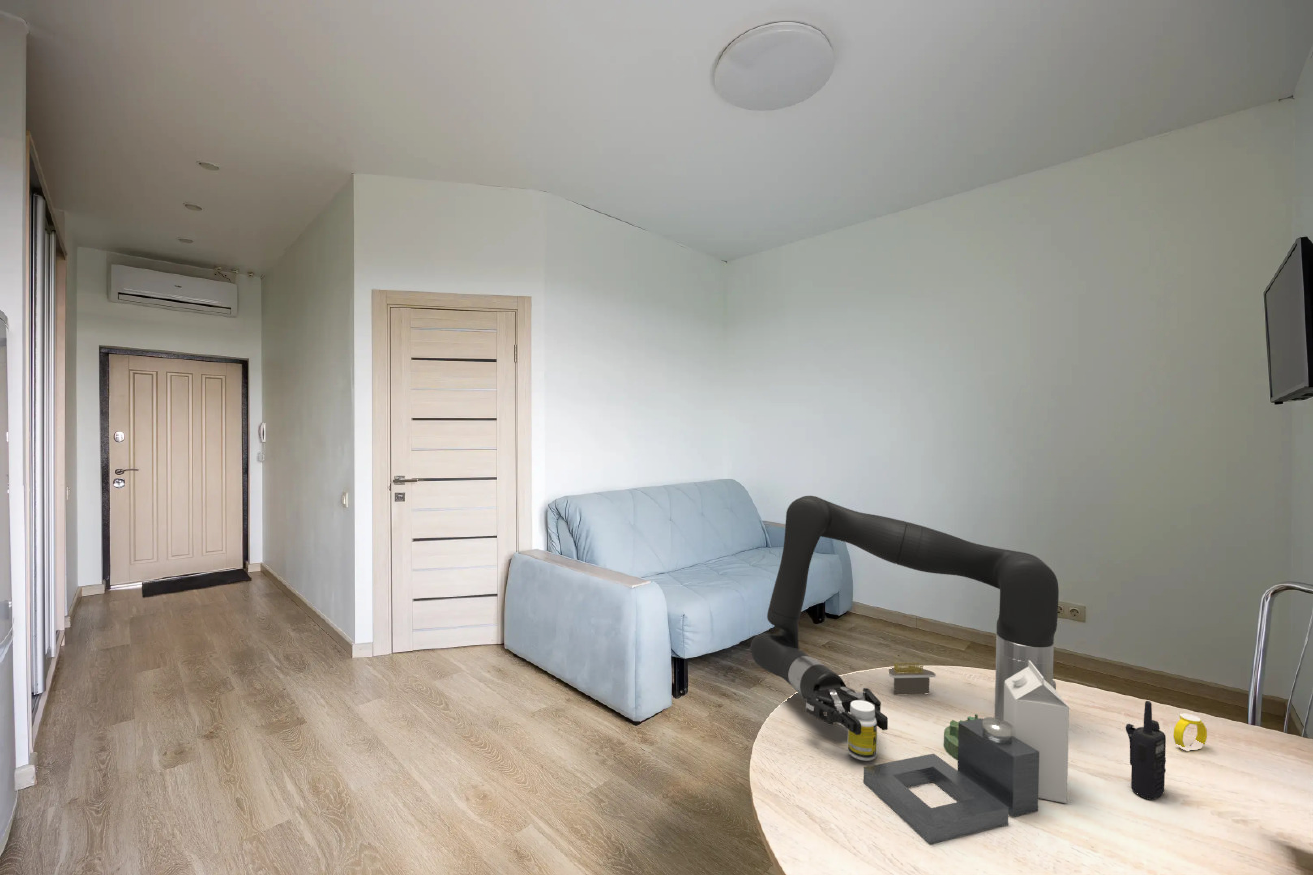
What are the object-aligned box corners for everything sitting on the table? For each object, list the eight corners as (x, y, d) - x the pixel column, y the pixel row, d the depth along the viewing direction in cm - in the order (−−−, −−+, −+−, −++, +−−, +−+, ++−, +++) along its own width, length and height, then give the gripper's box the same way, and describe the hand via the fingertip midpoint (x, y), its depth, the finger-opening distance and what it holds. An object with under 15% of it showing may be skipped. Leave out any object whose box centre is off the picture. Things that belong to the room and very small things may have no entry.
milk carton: (1051, 777, 92) (1054, 663, 91) (1067, 804, 85) (1070, 681, 85) (1002, 768, 94) (1004, 656, 94) (1013, 794, 87) (1016, 674, 87)
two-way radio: (1152, 804, 85) (1154, 707, 85) (1117, 787, 89) (1119, 694, 89) (1168, 793, 88) (1171, 699, 88) (1134, 778, 92) (1136, 687, 92)
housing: (966, 761, 96) (967, 698, 96) (1044, 815, 82) (1046, 741, 82) (863, 782, 90) (864, 714, 89) (929, 844, 76) (931, 764, 76)
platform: (857, 682, 127) (857, 653, 127) (932, 681, 128) (933, 652, 128) (882, 708, 115) (883, 677, 115) (965, 706, 116) (966, 675, 116)
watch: (1186, 756, 99) (1185, 723, 99) (1169, 747, 102) (1168, 715, 101) (1212, 750, 100) (1211, 718, 100) (1194, 742, 103) (1193, 710, 103)
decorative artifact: (950, 764, 95) (1016, 776, 92) (951, 723, 95) (1017, 734, 92) (938, 734, 105) (999, 743, 102) (939, 697, 105) (1000, 705, 102)
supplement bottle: (878, 763, 94) (879, 713, 93) (849, 759, 95) (850, 710, 94) (873, 747, 98) (874, 700, 98) (845, 743, 99) (846, 697, 99)
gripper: (783, 668, 108) (836, 710, 92) (846, 659, 112) (908, 699, 96) (783, 706, 108) (836, 755, 92) (846, 696, 112) (907, 742, 96)
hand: (872, 726), depth 94 cm, fingers closed on supplement bottle, 4 cm apart
